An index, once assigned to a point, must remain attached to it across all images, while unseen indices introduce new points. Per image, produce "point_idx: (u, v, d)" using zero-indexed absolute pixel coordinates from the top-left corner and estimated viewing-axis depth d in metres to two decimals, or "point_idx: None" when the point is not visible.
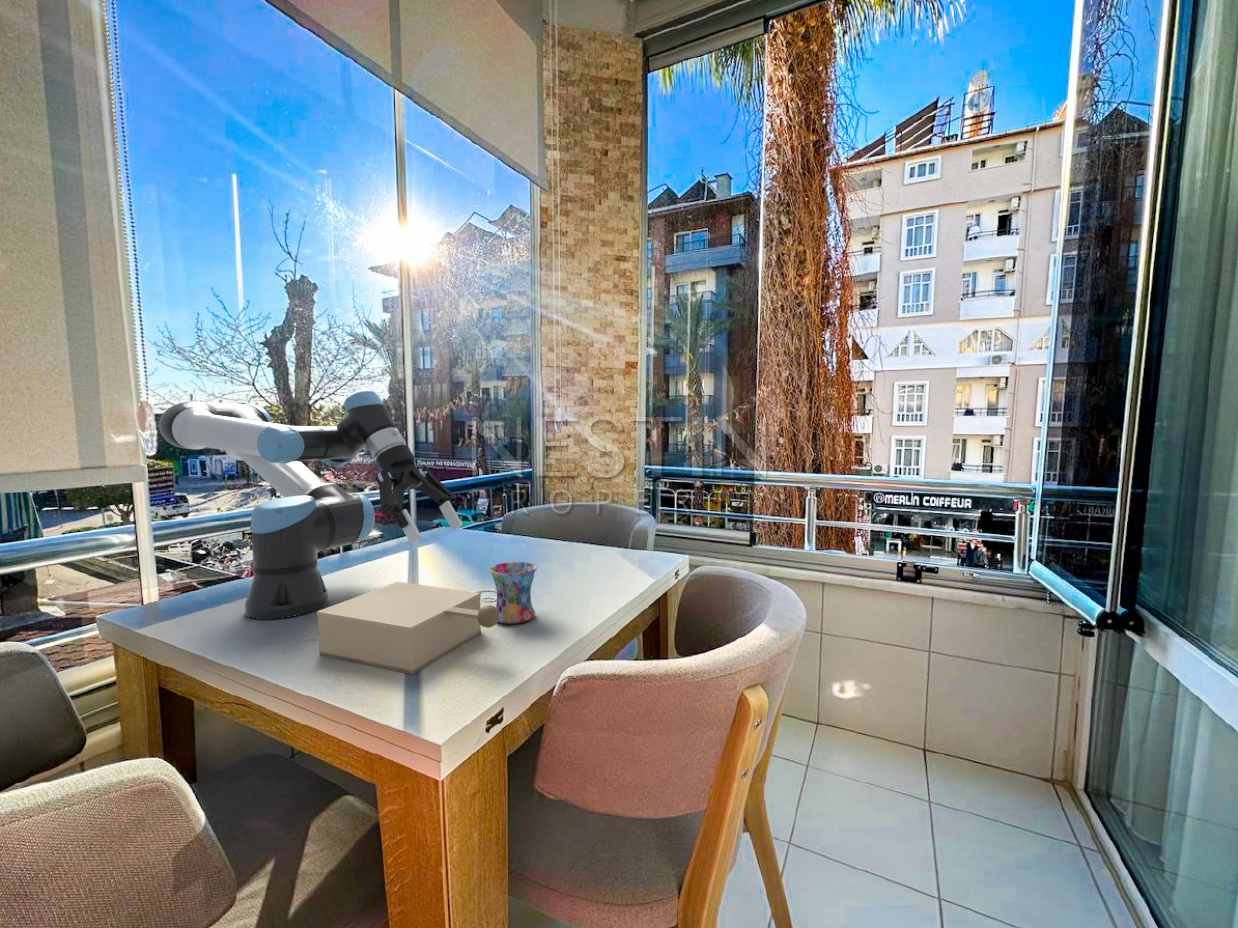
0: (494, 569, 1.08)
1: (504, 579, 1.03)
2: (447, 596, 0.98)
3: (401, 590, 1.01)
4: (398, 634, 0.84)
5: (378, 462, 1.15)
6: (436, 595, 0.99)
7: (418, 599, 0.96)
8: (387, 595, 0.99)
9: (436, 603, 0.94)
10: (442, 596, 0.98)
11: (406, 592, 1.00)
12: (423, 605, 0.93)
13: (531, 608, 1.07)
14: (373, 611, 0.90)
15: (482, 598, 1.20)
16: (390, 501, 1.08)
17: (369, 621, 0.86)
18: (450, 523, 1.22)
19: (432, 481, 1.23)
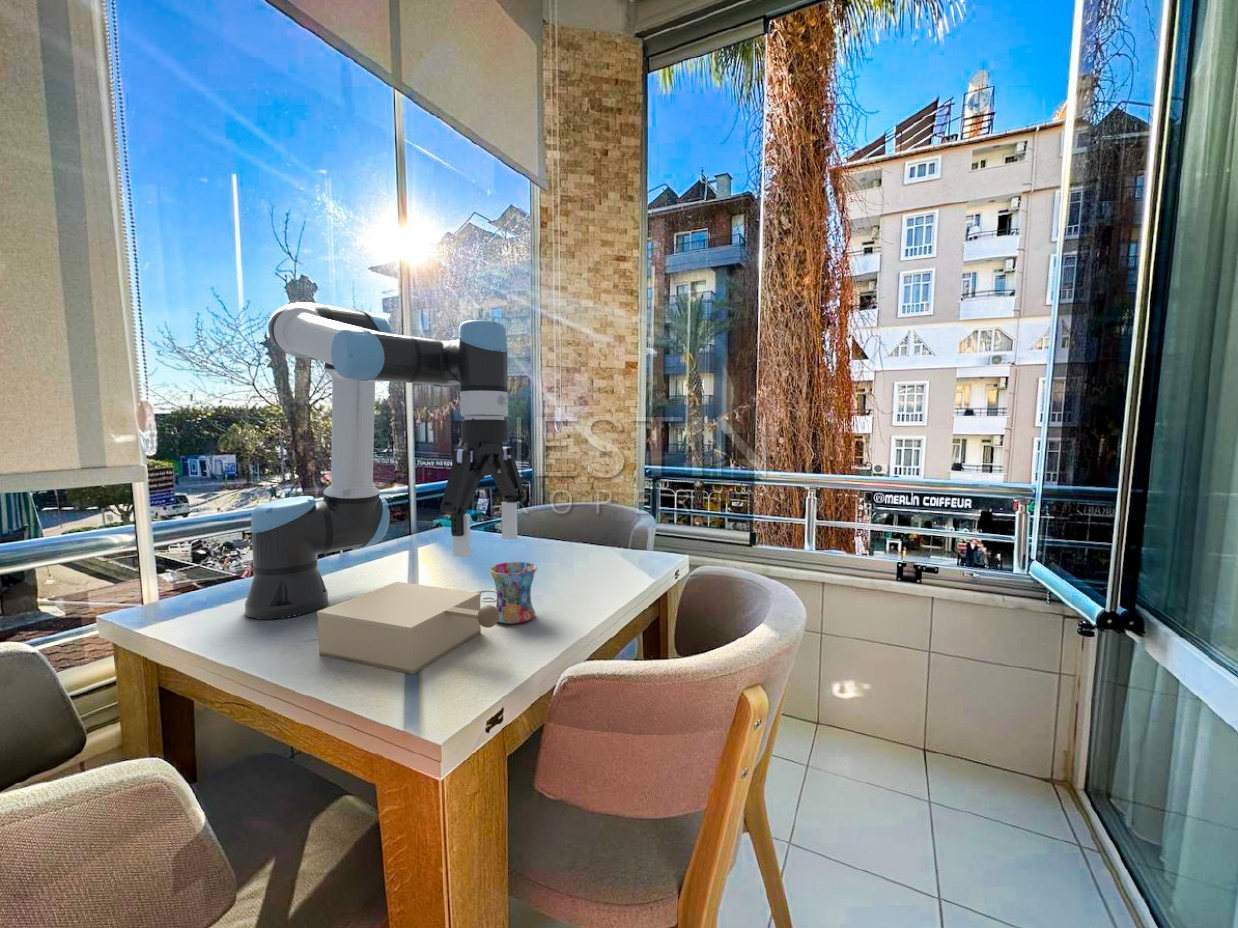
0: (494, 569, 1.08)
1: (504, 579, 1.03)
2: (447, 596, 0.98)
3: (401, 590, 1.01)
4: (398, 634, 0.84)
5: (464, 427, 0.84)
6: (436, 595, 0.99)
7: (418, 599, 0.96)
8: (387, 595, 0.99)
9: (436, 603, 0.94)
10: (442, 596, 0.98)
11: (406, 592, 1.00)
12: (423, 605, 0.93)
13: (531, 608, 1.07)
14: (373, 611, 0.90)
15: (482, 598, 1.20)
16: (458, 500, 0.79)
17: (369, 621, 0.86)
18: (504, 528, 0.94)
19: (510, 469, 0.93)
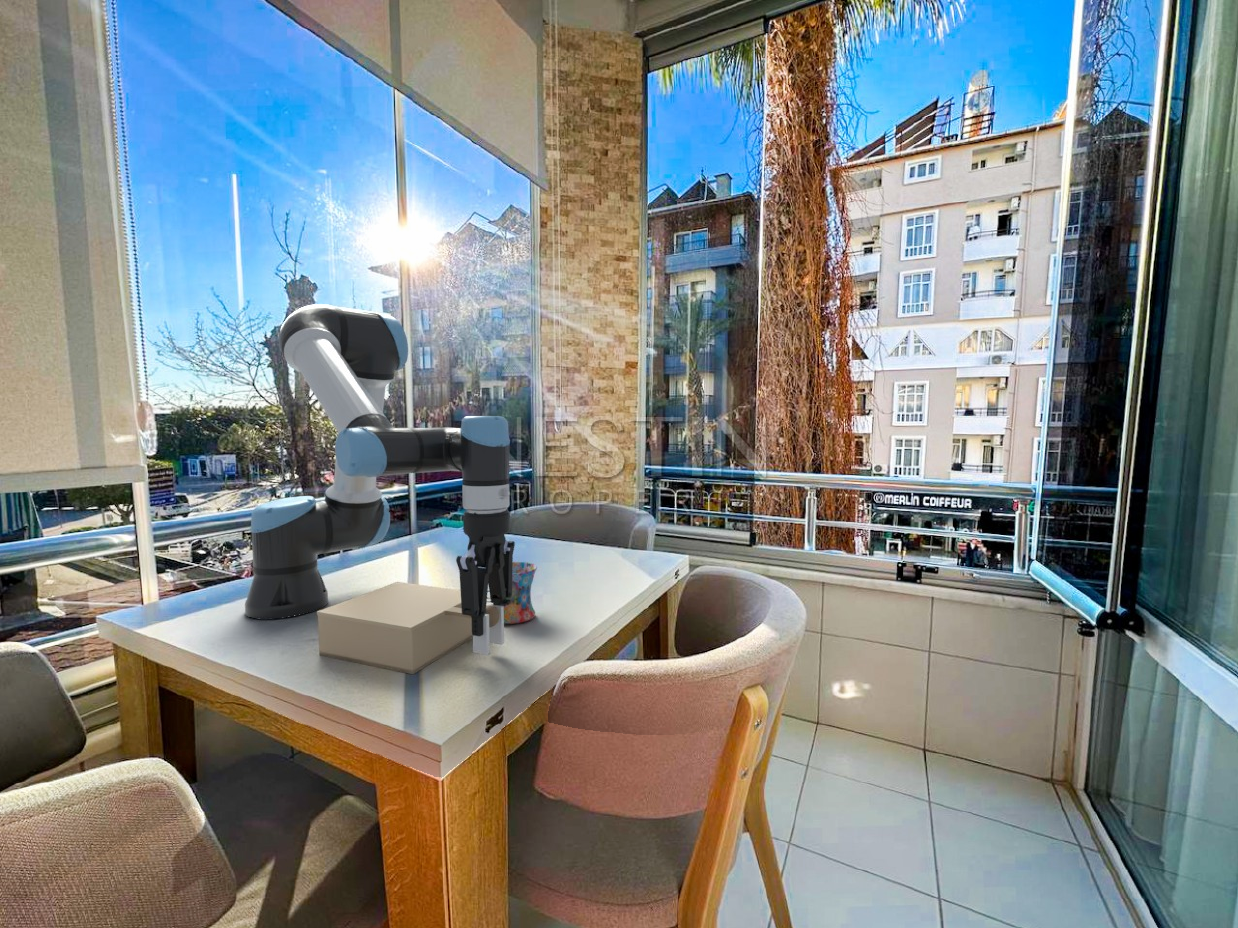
0: None
1: None
2: (447, 596, 0.98)
3: (401, 590, 1.01)
4: (398, 634, 0.84)
5: (466, 521, 0.85)
6: (436, 595, 0.99)
7: (418, 599, 0.96)
8: (387, 595, 0.99)
9: (436, 603, 0.94)
10: (442, 596, 0.98)
11: (406, 592, 1.00)
12: (423, 605, 0.93)
13: (531, 608, 1.07)
14: (373, 611, 0.90)
15: None
16: (476, 605, 0.83)
17: (369, 621, 0.86)
18: (490, 632, 0.91)
19: (505, 563, 0.92)
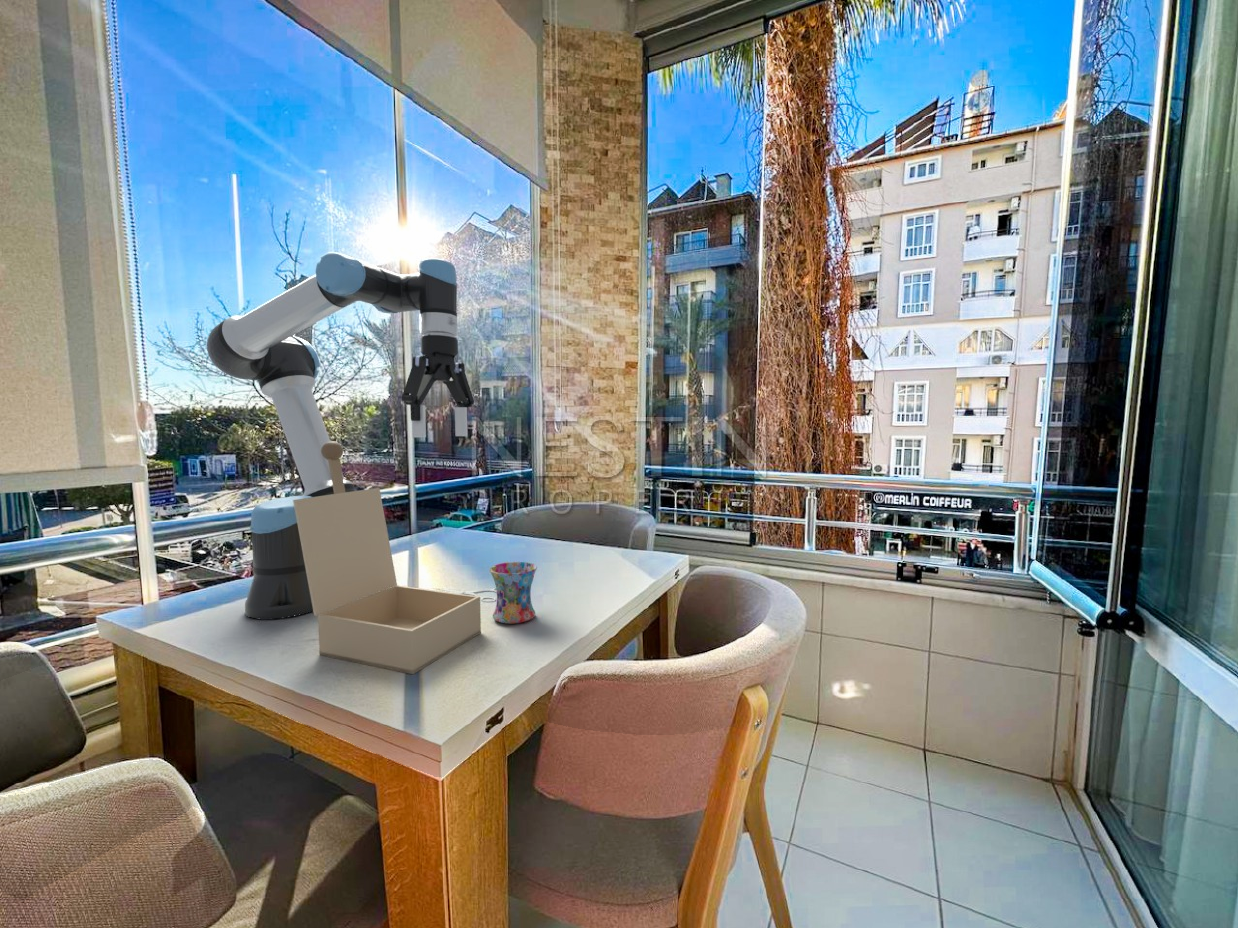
0: (494, 569, 1.08)
1: (504, 579, 1.03)
2: None
3: None
4: (398, 634, 0.84)
5: (422, 341, 1.10)
6: None
7: None
8: None
9: None
10: None
11: None
12: None
13: (531, 608, 1.07)
14: None
15: (481, 598, 1.20)
16: (415, 392, 1.04)
17: (302, 548, 0.90)
18: (457, 428, 1.20)
19: (461, 381, 1.19)
